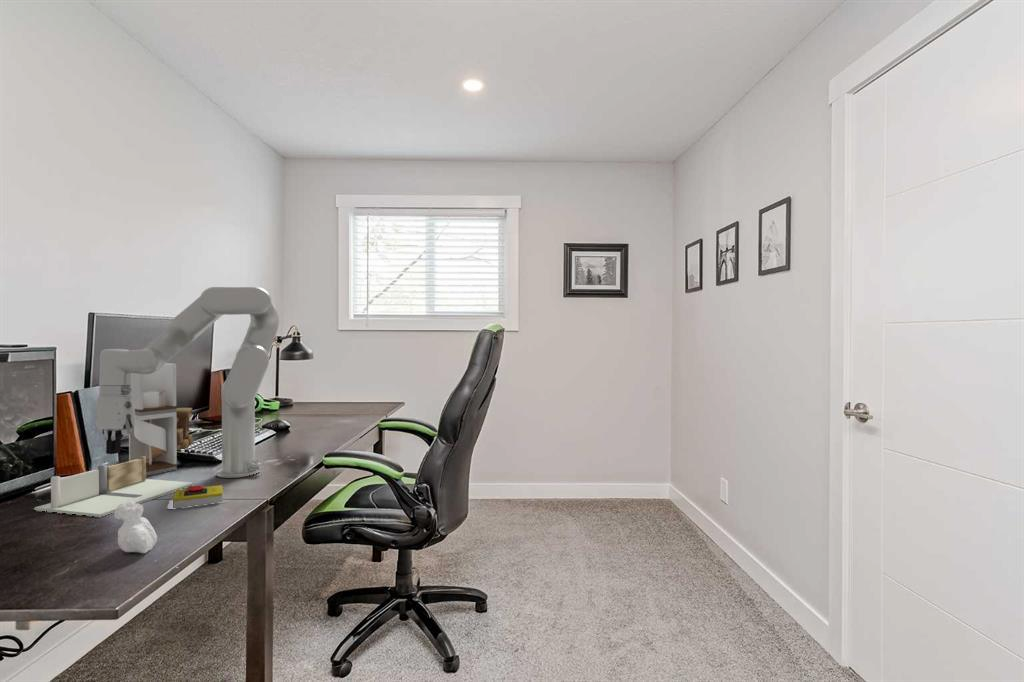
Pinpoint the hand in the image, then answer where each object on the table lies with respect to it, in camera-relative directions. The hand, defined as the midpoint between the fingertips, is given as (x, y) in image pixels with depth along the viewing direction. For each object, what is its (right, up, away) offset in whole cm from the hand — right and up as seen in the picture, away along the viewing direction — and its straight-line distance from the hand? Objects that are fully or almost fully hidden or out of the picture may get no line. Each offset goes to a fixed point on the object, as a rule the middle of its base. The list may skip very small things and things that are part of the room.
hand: (113, 453), depth 162 cm
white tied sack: (+38, -11, -46) cm, 61 cm away
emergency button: (+33, -11, -14) cm, 38 cm away
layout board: (+9, -10, -10) cm, 17 cm away
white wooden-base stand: (-1, -10, +18) cm, 21 cm away
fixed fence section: (+2, -9, -16) cm, 18 cm away
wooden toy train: (-6, -10, +39) cm, 41 cm away
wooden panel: (+6, -9, -2) cm, 11 cm away
